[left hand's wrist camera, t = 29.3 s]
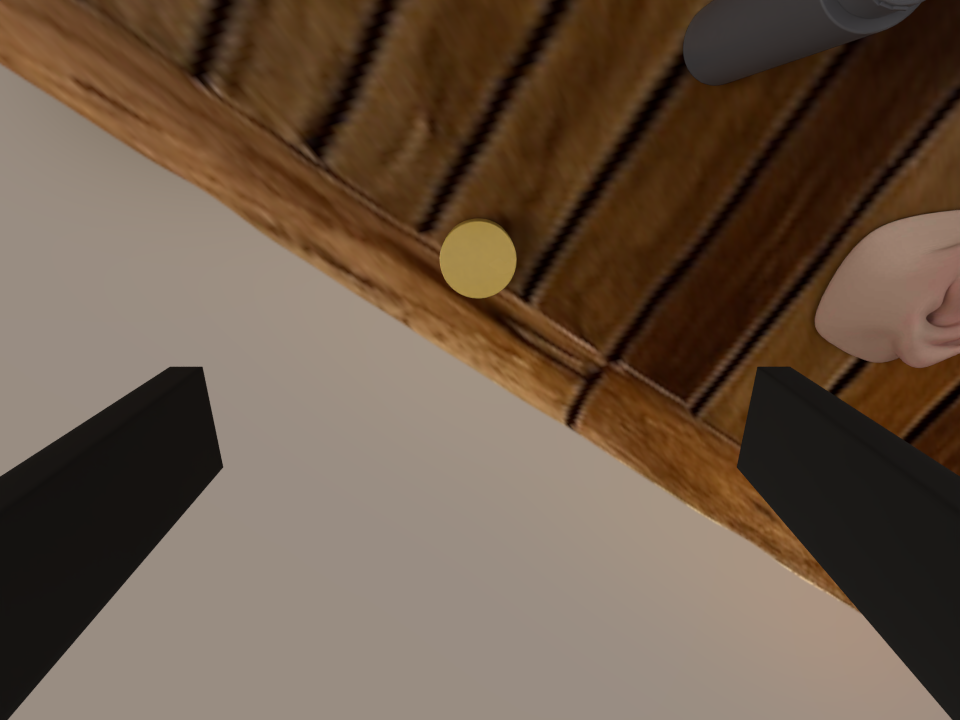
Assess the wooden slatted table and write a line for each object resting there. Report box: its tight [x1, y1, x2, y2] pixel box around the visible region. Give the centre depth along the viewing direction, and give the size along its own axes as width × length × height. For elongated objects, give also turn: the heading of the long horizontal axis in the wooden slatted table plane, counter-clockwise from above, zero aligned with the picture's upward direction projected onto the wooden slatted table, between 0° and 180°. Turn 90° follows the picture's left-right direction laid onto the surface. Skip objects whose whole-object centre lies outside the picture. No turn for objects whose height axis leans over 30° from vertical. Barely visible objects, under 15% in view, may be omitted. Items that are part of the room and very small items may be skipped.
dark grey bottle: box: [683, 0, 925, 85], centre depth 25 cm, size 5×5×16 cm
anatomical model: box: [815, 210, 960, 368], centre depth 36 cm, size 13×4×12 cm
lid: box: [440, 218, 517, 298], centre depth 36 cm, size 5×5×2 cm
